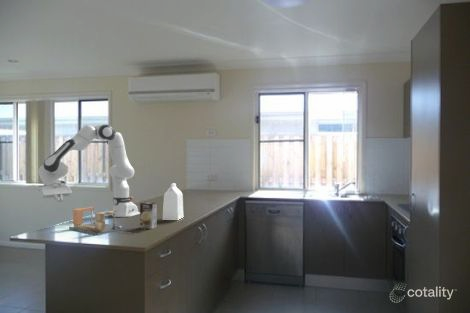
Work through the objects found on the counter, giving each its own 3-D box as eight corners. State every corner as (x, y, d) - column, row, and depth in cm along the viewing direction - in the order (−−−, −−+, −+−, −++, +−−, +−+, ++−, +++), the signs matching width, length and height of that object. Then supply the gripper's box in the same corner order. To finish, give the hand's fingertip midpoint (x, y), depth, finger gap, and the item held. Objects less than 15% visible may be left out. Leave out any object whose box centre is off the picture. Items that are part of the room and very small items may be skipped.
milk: (177, 221, 247) (178, 184, 247) (162, 220, 249) (162, 184, 249) (183, 218, 259) (183, 183, 258) (169, 217, 261) (169, 182, 261)
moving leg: (91, 222, 230) (91, 206, 230) (95, 222, 228) (95, 207, 228) (73, 225, 219) (73, 209, 219) (76, 226, 217) (76, 210, 217)
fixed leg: (91, 223, 230) (91, 207, 230) (117, 228, 216) (117, 211, 216) (73, 227, 219) (73, 209, 219) (99, 232, 205) (99, 214, 205)
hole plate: (97, 223, 235) (97, 220, 235) (124, 229, 220) (125, 225, 220) (69, 229, 218) (69, 225, 218) (97, 235, 203) (97, 231, 203)
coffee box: (139, 228, 224) (139, 203, 223) (144, 226, 230) (144, 201, 230) (152, 229, 221) (152, 203, 221) (157, 226, 227) (157, 202, 227)
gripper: (38, 182, 225) (46, 199, 220) (68, 181, 242) (76, 196, 237) (34, 189, 227) (42, 205, 222) (64, 187, 245) (72, 202, 239)
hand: (60, 201), depth 230 cm, fingers closed
